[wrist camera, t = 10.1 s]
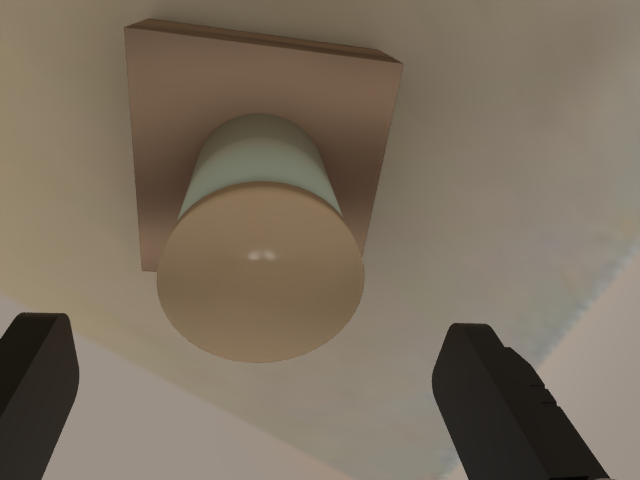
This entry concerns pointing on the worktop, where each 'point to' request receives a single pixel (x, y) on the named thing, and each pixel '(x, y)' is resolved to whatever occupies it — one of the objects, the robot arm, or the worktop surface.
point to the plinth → (251, 111)
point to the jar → (260, 247)
